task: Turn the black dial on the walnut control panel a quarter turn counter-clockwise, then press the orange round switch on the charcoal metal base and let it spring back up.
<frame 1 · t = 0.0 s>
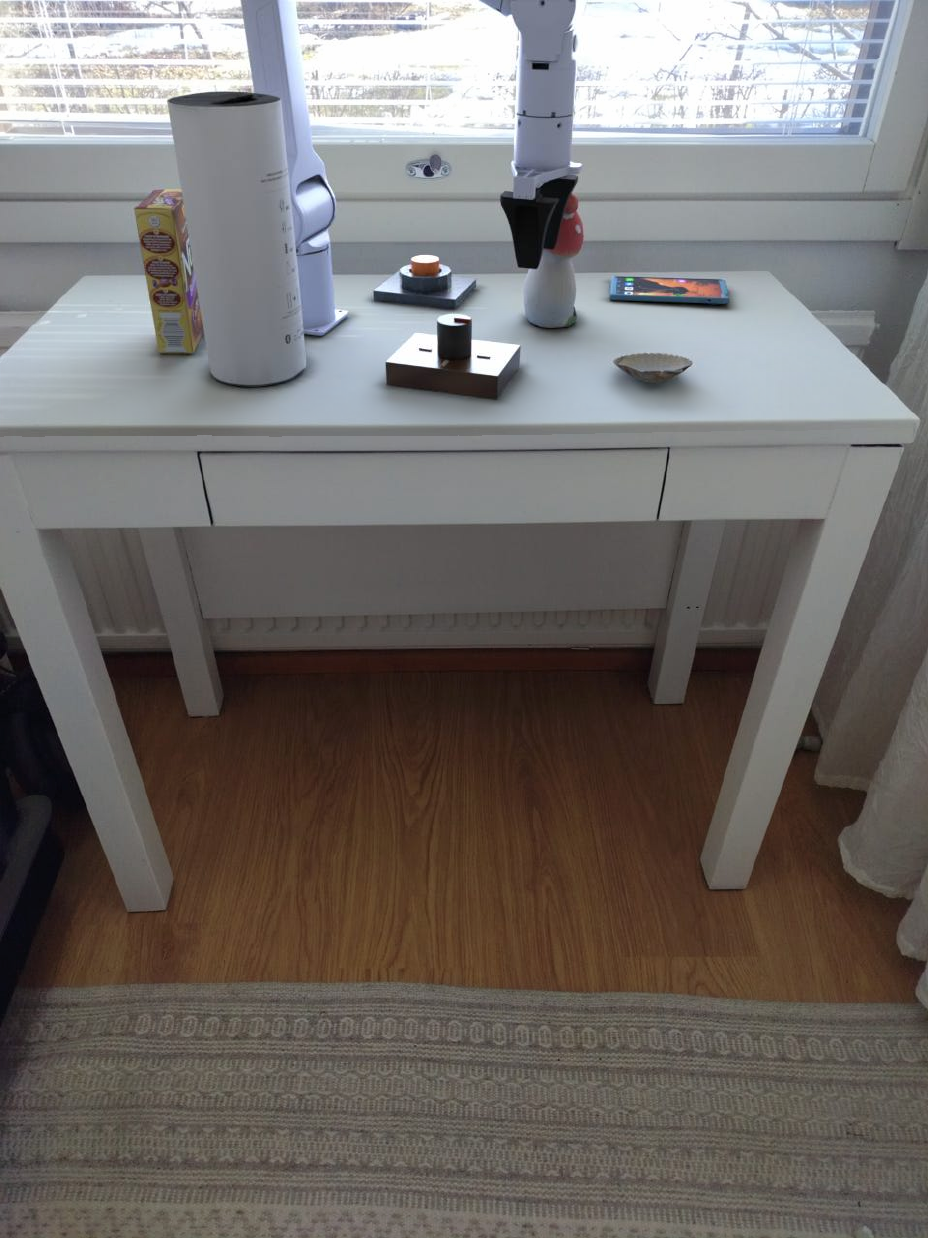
hand: (536, 257, 98), 10 cm above the table, tool pointing down, fingers open, 7 cm apart
smartphone: (667, 295, 120), on the table
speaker: (260, 370, 99), on the table
decorative ornament: (551, 321, 112), on the table
candy box: (186, 342, 106), on the table
dial: (454, 334, 95), point 4 cm above the table, hinge at 0.0°
switch: (425, 265, 117), point 4 cm above the table, slide at 0.2 cm
seashell: (650, 380, 98), on the table
switch base: (425, 293, 120), on the table
dial panel: (454, 376, 98), on the table
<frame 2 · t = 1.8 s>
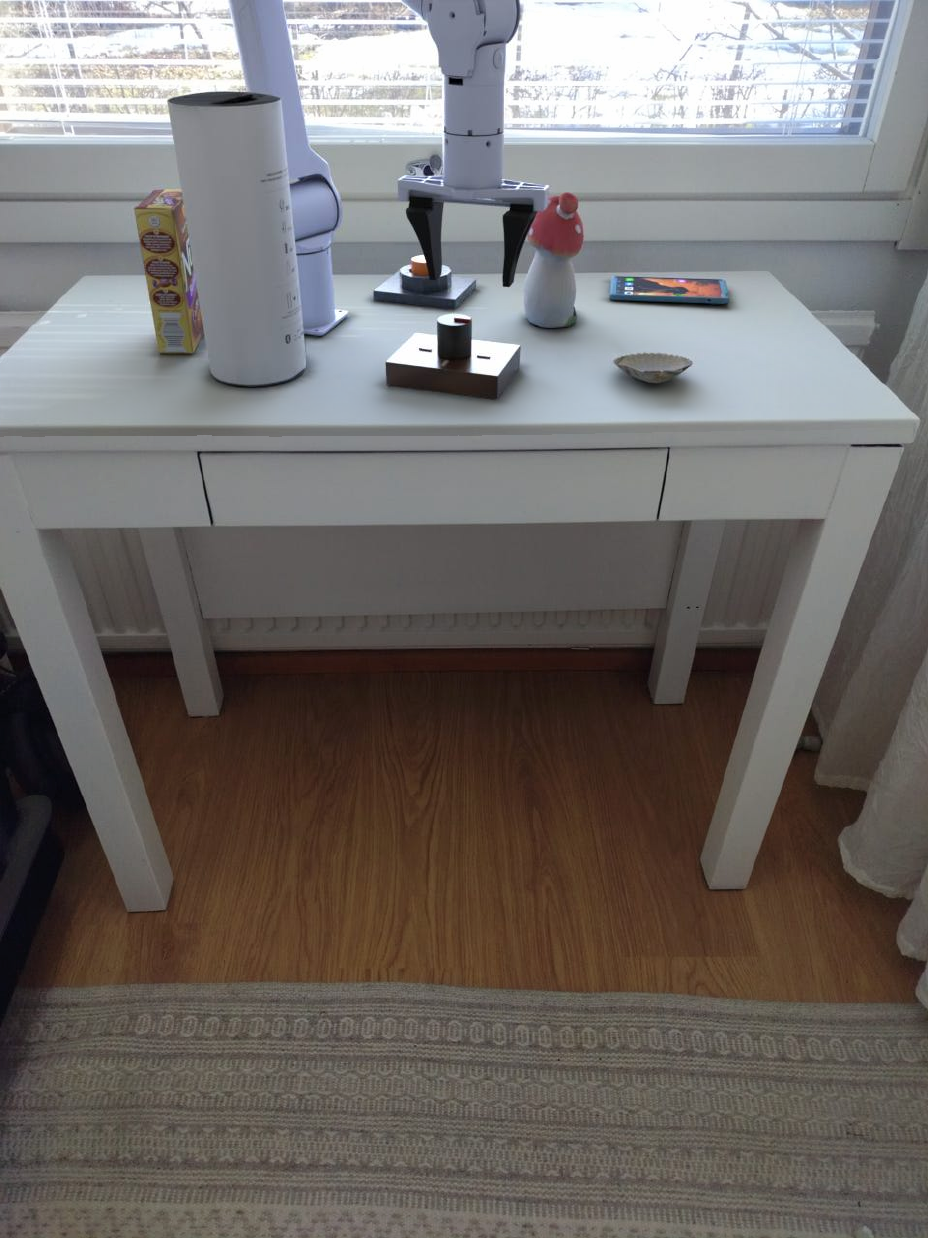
hand: (471, 280, 93), 9 cm above the table, tool pointing down, fingers open, 7 cm apart
nothing on the table moved.
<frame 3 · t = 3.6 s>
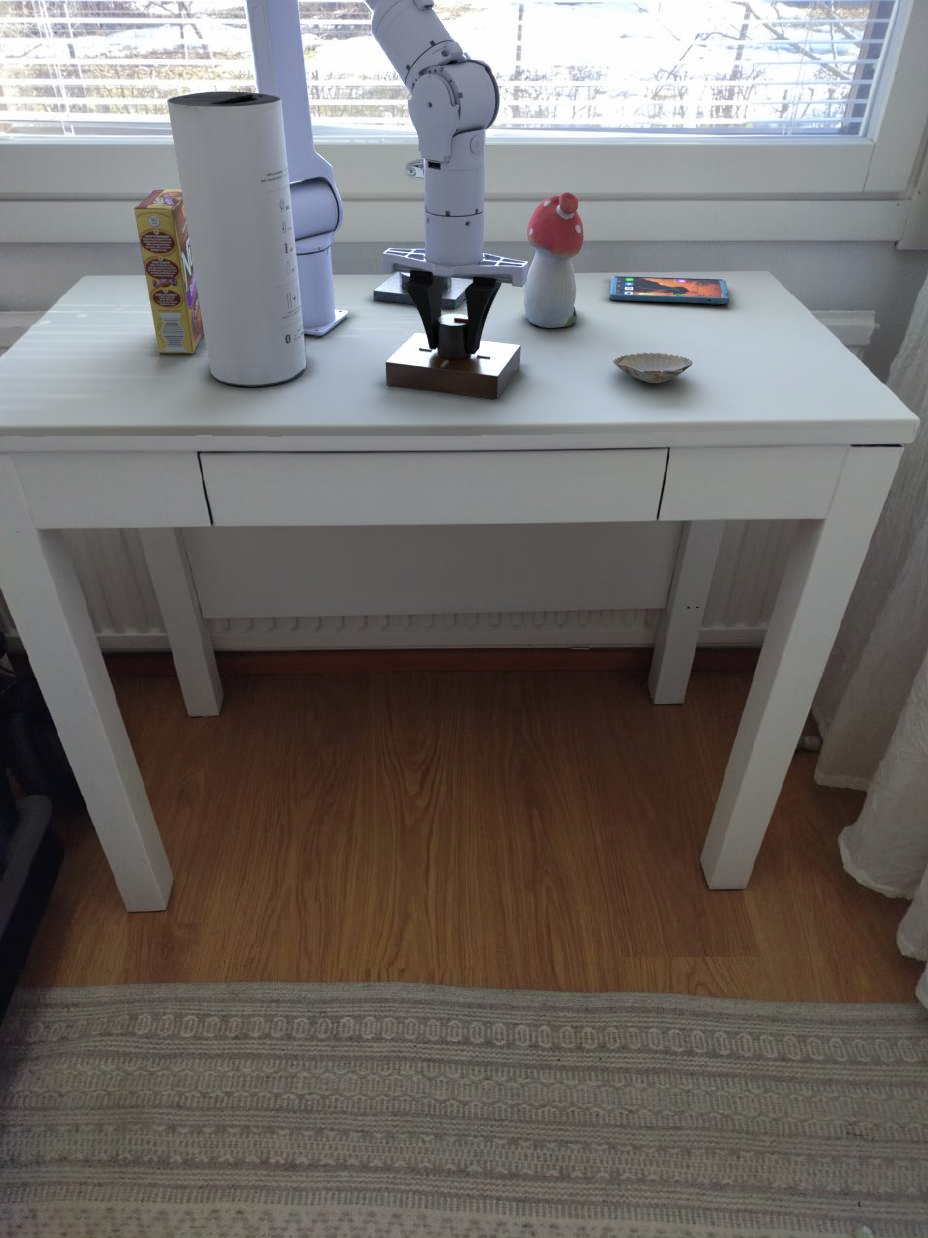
hand: (454, 348, 96), 3 cm above the table, tool pointing down, fingers closed on dial, 3 cm apart
dial: (454, 334, 95), point 4 cm above the table, hinge at -0.2°, touching gripper
everything else where it was.
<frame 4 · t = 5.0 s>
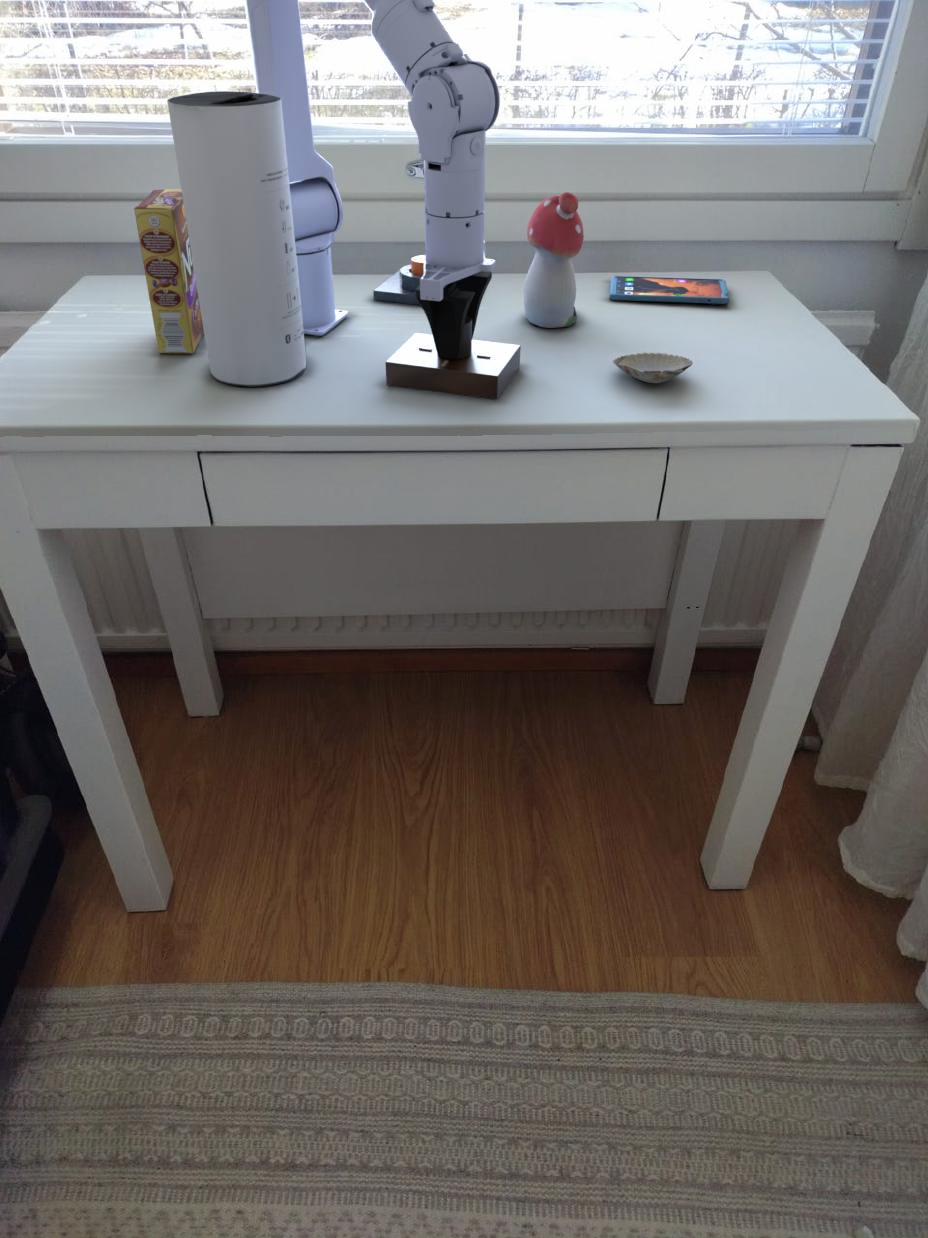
hand: (454, 349, 96), 3 cm above the table, tool pointing down, fingers closed on dial, 4 cm apart
dial: (454, 334, 95), point 4 cm above the table, hinge at 90.2°, touching gripper
everything else where it was.
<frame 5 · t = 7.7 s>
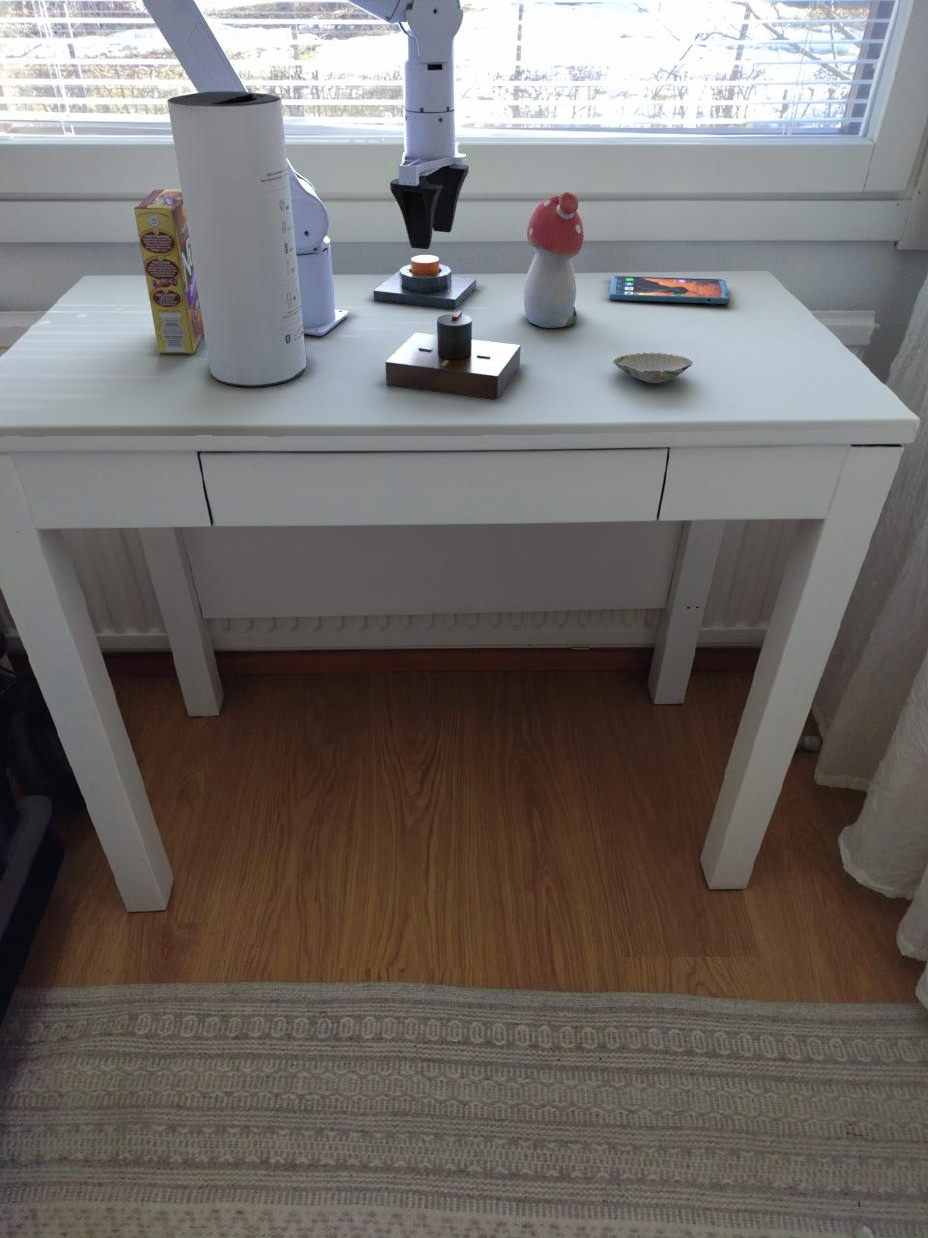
hand: (431, 239, 109), 9 cm above the table, tool pointing down, fingers open, 7 cm apart
dial: (454, 334, 95), point 4 cm above the table, hinge at 90.6°
everything else where it was.
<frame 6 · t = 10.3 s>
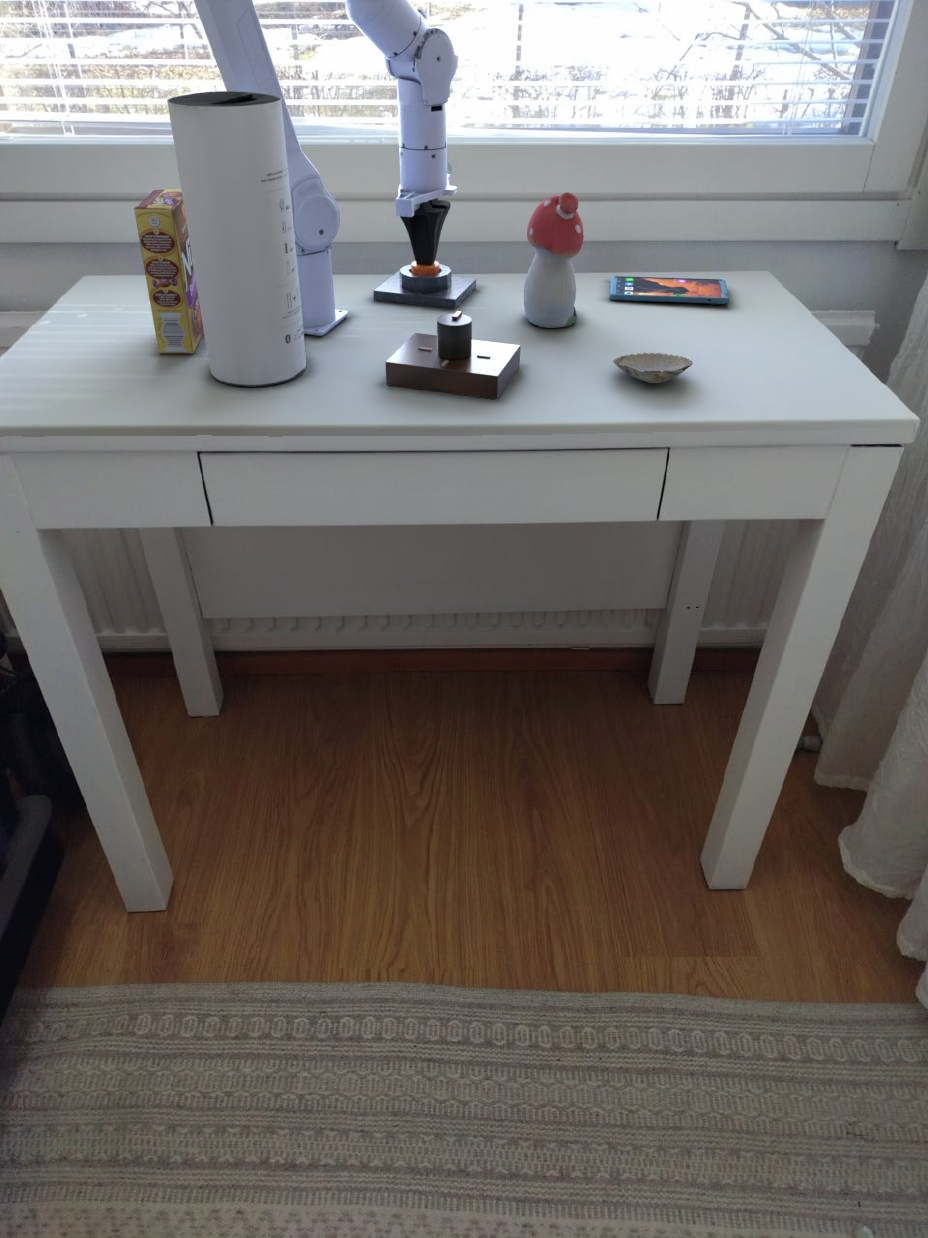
hand: (425, 263, 117), 4 cm above the table, tool pointing down, fingers closed, pressing on switch
switch: (425, 270, 118), point 3 cm above the table, slide at -0.4 cm, touching gripper
everything else where it was.
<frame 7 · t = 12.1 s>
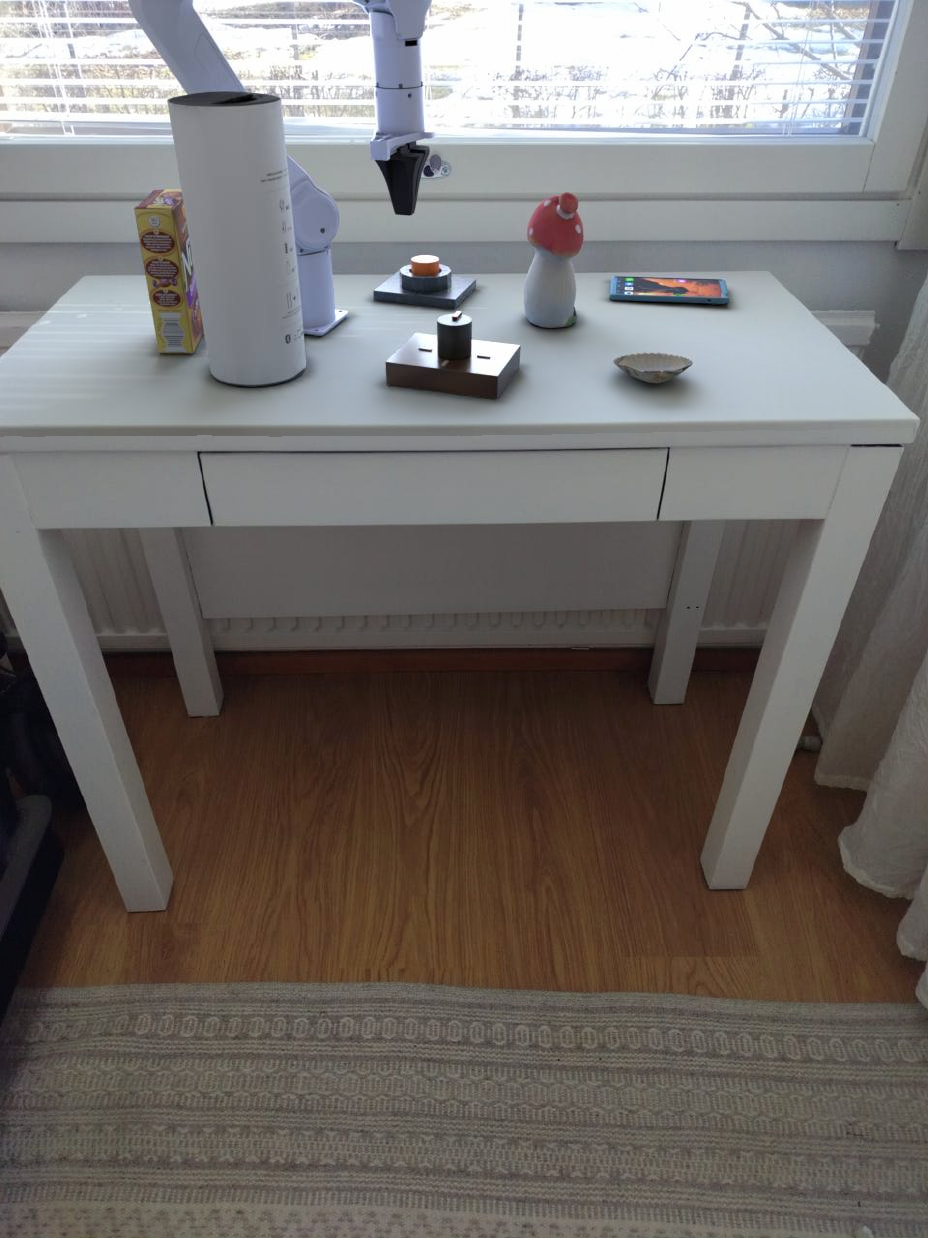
hand: (404, 213, 111), 10 cm above the table, tool pointing down, fingers closed
switch: (425, 265, 117), point 4 cm above the table, slide at 0.1 cm
everything else where it was.
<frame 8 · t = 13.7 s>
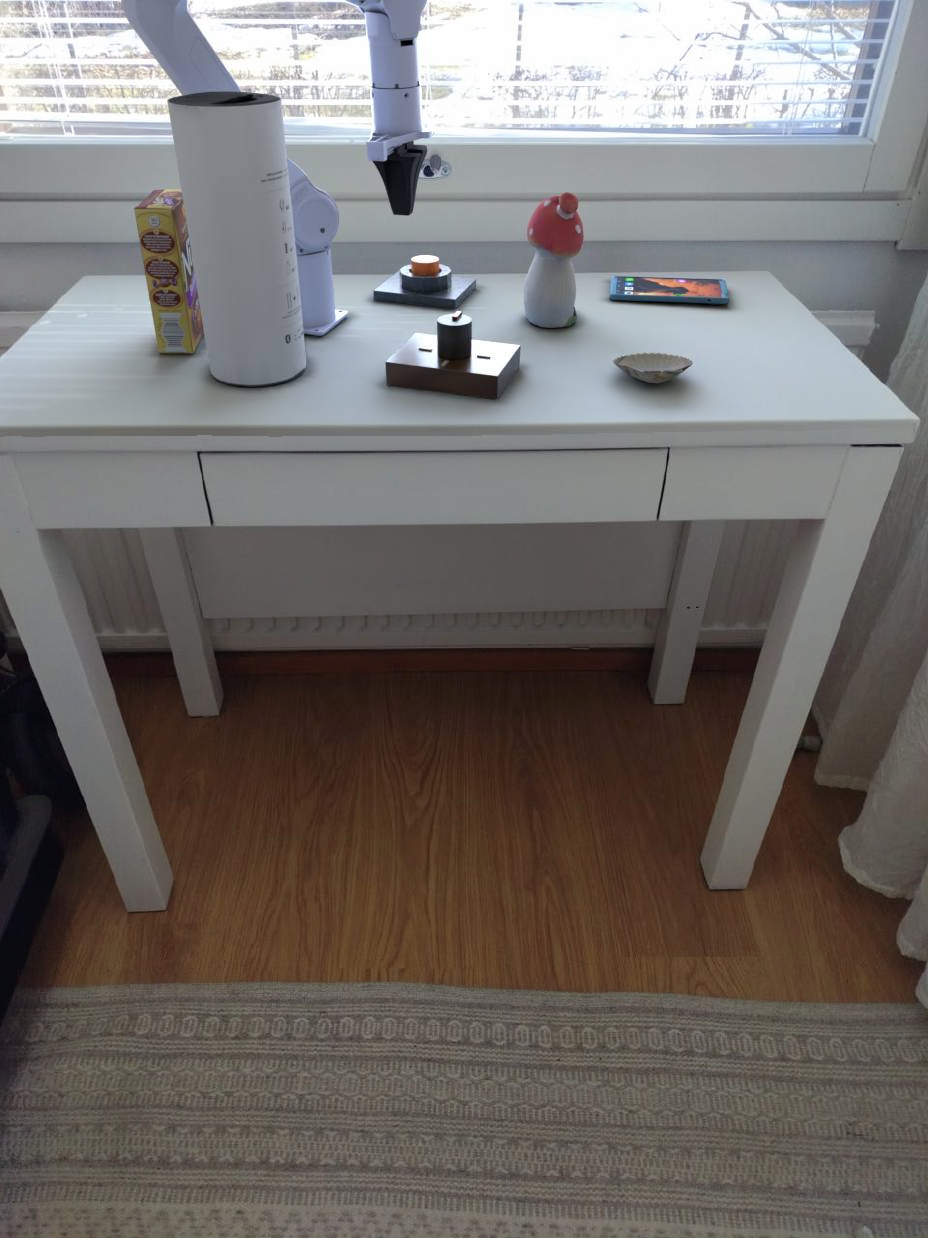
hand: (402, 213, 111), 10 cm above the table, tool pointing down, fingers closed
nothing on the table moved.
at the end: dial at +91° (first picture: +0°); switch pushed in 1.2 cm at the most during the clip, back to where it started at the end; switch slide at 0.1 cm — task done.
